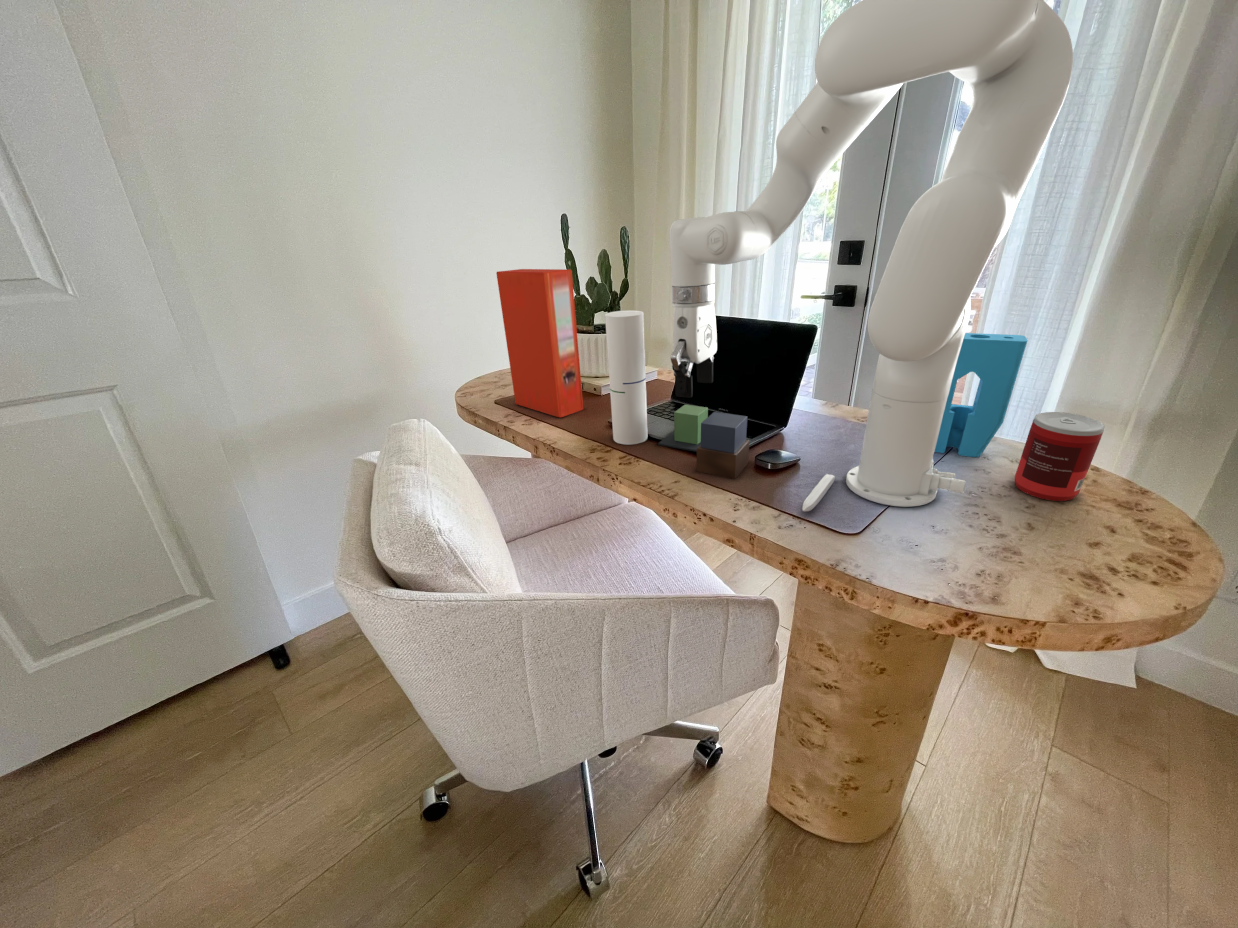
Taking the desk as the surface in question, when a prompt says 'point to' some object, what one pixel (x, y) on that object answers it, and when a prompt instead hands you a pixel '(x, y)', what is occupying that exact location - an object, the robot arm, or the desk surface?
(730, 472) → the base block
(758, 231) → the robot arm
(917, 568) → the desk surface
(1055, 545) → the desk surface
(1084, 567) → the desk surface
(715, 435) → the mid block
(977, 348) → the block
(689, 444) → the coaster
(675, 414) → the green block
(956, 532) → the desk surface
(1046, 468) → the canned food
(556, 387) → the file binder
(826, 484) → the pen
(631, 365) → the cylindrical container
